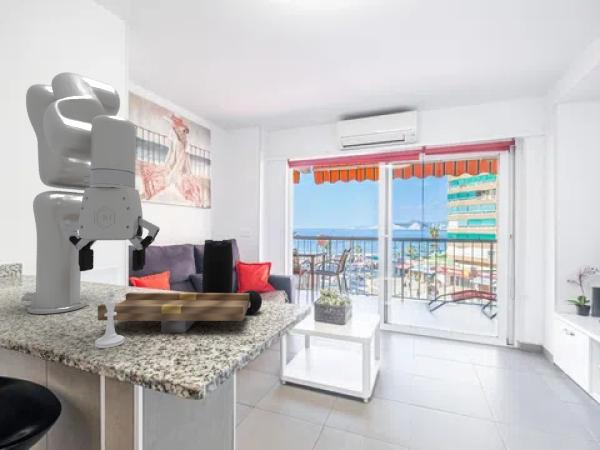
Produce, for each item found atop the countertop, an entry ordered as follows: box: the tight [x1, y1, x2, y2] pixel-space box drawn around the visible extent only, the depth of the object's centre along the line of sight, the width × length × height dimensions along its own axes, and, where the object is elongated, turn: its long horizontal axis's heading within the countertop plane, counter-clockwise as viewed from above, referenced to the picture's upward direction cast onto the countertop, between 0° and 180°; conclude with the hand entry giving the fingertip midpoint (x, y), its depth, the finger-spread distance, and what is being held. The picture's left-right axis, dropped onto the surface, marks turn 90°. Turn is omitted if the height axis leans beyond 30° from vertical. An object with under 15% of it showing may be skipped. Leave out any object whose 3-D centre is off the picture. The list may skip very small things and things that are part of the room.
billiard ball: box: [243, 289, 263, 315], centre depth 82 cm, size 6×6×6 cm
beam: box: [97, 292, 249, 333], centre depth 72 cm, size 30×13×6 cm, turn 93°
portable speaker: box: [201, 239, 234, 293], centre depth 88 cm, size 8×9×19 cm
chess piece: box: [94, 291, 125, 349], centre depth 60 cm, size 5×5×10 cm
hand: (112, 270), depth 60 cm, fingers open, 9 cm apart
